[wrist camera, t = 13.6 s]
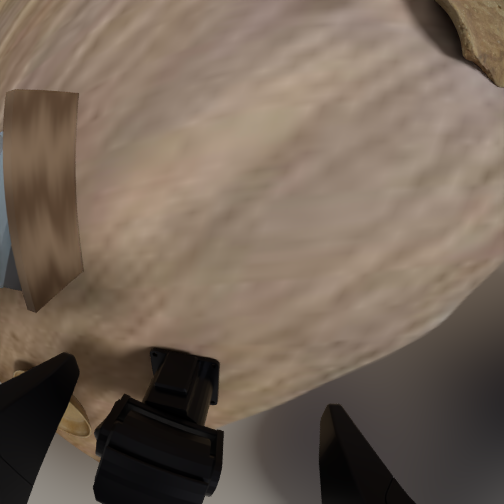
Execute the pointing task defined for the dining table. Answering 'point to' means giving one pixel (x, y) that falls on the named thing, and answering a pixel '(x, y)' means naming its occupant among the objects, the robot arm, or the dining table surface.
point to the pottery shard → (480, 33)
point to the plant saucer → (72, 417)
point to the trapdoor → (6, 242)
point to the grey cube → (1, 144)
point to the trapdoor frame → (41, 191)
